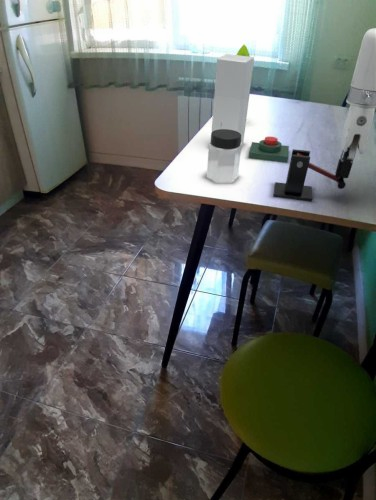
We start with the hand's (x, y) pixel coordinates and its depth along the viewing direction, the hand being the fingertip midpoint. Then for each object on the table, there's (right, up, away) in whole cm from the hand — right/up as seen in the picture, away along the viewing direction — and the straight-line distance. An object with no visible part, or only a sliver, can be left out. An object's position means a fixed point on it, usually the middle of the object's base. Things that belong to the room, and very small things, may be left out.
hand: (341, 176), depth 106 cm
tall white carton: (-27, +21, +31) cm, 46 cm away
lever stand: (-11, -3, +6) cm, 13 cm away
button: (-14, +19, +23) cm, 33 cm away
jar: (-30, +4, +12) cm, 32 cm away
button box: (-14, +17, +26) cm, 34 cm away
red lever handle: (-6, +1, +1) cm, 6 cm away
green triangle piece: (-22, +38, +49) cm, 65 cm away
